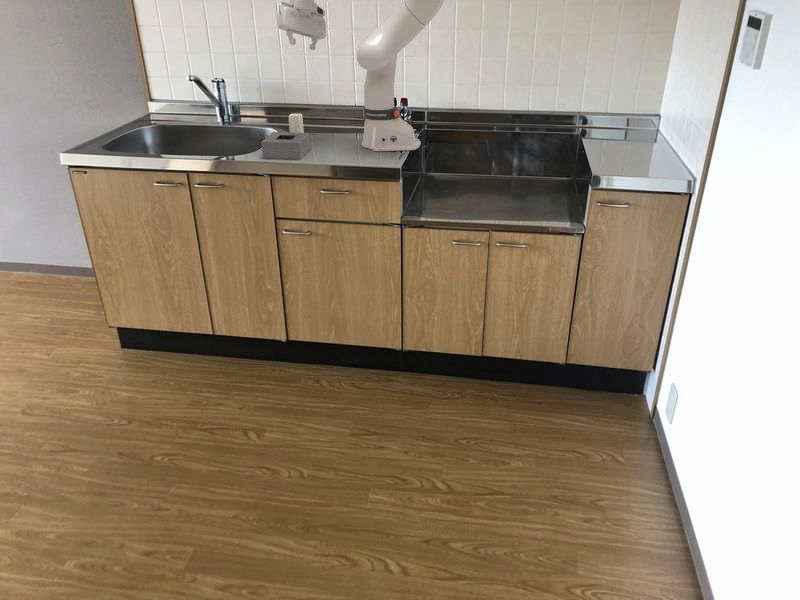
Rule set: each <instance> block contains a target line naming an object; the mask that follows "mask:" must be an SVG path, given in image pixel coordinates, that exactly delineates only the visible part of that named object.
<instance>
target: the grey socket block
mask: <svg viewBox="0 0 800 600" xmlns="http://www.w3.org/2000/svg"><path fill="white" fill-rule="evenodd" d="M260 143H261V152H262V159H265V160H266V159H269V160H271V159H274V160H300V161H301V160H302V159H303V158H304V157H305V156H306V155H307V154H308V152H309V151H310V150H311V149H312V148H311V147H312V146H311V134H310V132H304V133H290V132H282V131H281V132H275V131H273V132H271V133H270V134H268V136H267V137H265V138H264V139H263V140H261V142H260Z"/></svg>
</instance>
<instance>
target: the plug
mask: <svg viewBox="0 0 800 600" xmlns="http://www.w3.org/2000/svg"><path fill="white" fill-rule="evenodd" d="M287 118H288V128H289V133H305V131H304V121H303V120H304V119H303V113H291V114H289V115H288V117H287Z"/></svg>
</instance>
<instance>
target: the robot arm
mask: <svg viewBox="0 0 800 600" xmlns="http://www.w3.org/2000/svg"><path fill="white" fill-rule="evenodd" d="M444 2H445V0H403V2H402V3H400V4H399V6H398V7H397V8H396V9H395V10H394V11H393V12H392V13H391V15H389V16H388V18H387V19H386V20H385V19H384V21H383V22H382V23H381V24H380V25H379V26H378V27H377V28H376V29H375V30H374V31H373V32H372V33H370V34H369V36H367V37H366V38H365V40H364V41H363V42H361V44H360V46H359V47H358V49H357V51H356V60H357V63H358V65H359V67H361V68H362V69H364V70H366V73H365V74H366V75H365V80H364V84H363V99H364V103H363V104H364V107H363V110H362V111H363V112H362V115H363V117H362V118H363V124H364V128H363V129H364V130H363V137H362V141H361V146H362V147H363V148H365V149H369V150H371V151H374V152H390V151H391V152H392V151H393V152H395V151H397V152H398V151H415V150H418V149H419V148H420V147H421V144H422V143H421V142H422V141H421V140H420V139H419V138H416V135H415V130H414V127H413V126H412V125H410V124H409V123H408V122H406V121H405V120H404V119H403V118H401V117H400V115H401V114H400V111H401V110H400V107H396V106H395V79H396V72H397V71H396V69H397V60H398V54H399V53H400V52H401V51H402V50H404V48H406V46H407V45H408V44H410V43H411V42H412V41H413V40H414V39H415V38H416V37H417V36H418V35H419V33H421V32H422V31H423V29H425V28H426V27H427V26H428V25H429V24H430V22H431V21H432V20H433V19H434V18H435V16H436V15H437V13H438V12H439V11H440V10H441V8H442V6H443V4H444ZM325 16H326V11H325V10H324V9H323V8H322V7H320V6H319V5H318V4H317V3H316V2H315V0H289V3H287V2H285V1H281V2H280V3H279V5H278V15H277V27H278V29H279V30H281V31H284V32H285V31H286V36H287V38H288V40H289V45H291V46H295V45H296V41H297V40H296V39H295V37H294V35H293V34H297V35H299V36H303V37H306V38H310V39H311V41H312V42H311V44H309V50H311V51H315V50H316V48H317V47H316V45H317V43H318V41H320V40H325V38H326V36H327V24H326V23H327V22H326V19H325Z"/></svg>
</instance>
